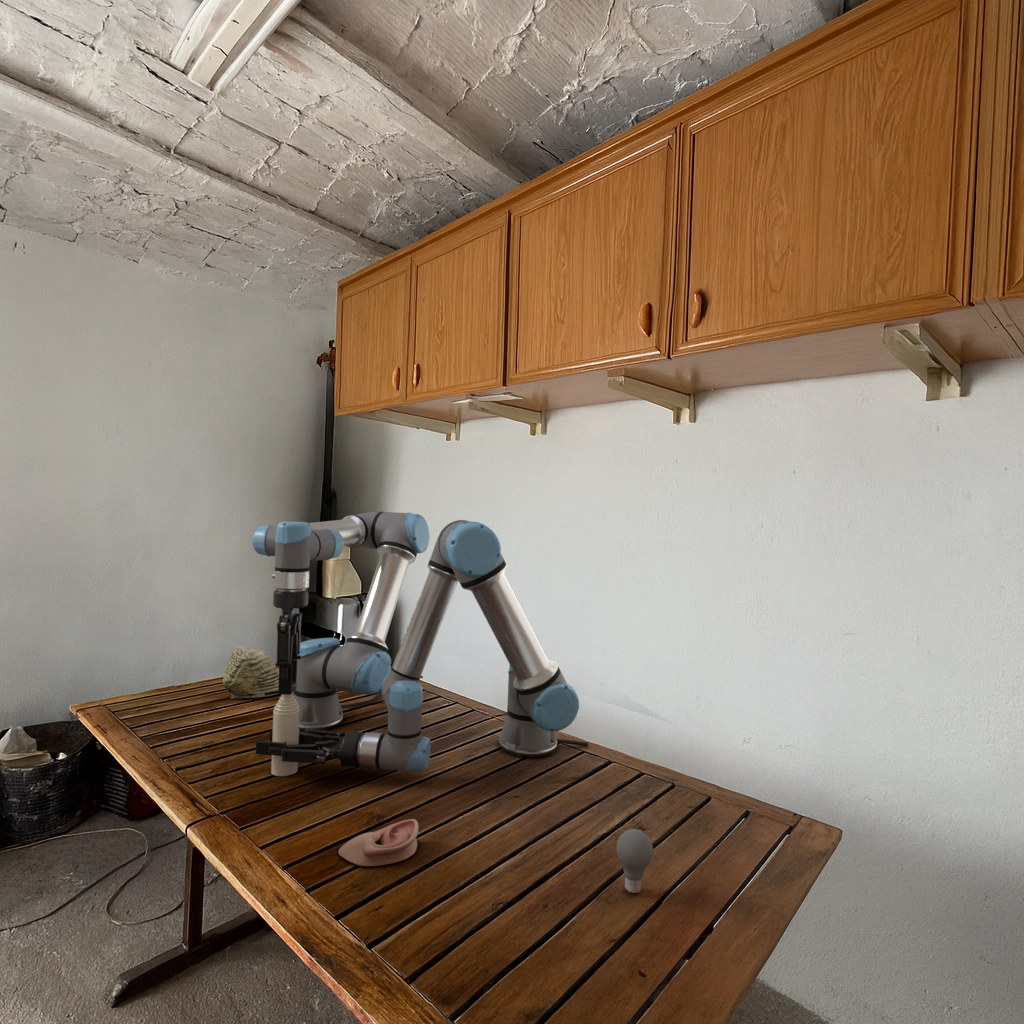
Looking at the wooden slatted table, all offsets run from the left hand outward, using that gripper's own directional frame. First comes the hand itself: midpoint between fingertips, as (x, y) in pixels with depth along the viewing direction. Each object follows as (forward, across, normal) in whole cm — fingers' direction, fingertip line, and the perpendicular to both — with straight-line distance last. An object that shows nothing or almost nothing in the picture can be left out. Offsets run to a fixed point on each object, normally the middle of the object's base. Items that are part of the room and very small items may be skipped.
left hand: (287, 690), depth 145 cm
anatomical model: (+19, +34, +25) cm, 46 cm away
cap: (-1, 0, 0) cm, 1 cm away
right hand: (+12, -1, -5) cm, 13 cm away
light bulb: (+19, +47, +68) cm, 85 cm away
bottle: (+19, 0, 0) cm, 19 cm away
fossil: (+19, -55, -23) cm, 63 cm away
